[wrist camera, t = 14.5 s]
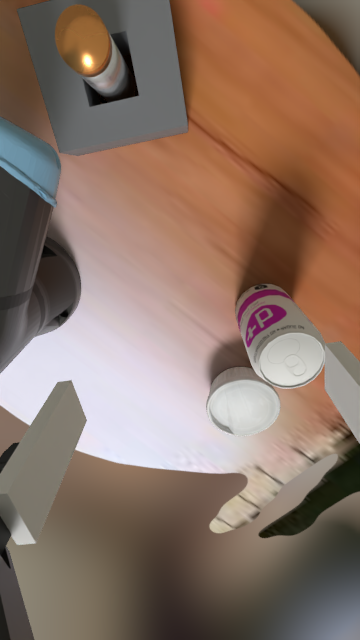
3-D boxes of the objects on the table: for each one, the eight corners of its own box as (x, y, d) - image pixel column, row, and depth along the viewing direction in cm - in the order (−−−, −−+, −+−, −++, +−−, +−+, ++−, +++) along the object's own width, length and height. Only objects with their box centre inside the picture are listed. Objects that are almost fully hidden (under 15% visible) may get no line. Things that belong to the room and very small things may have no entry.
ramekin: (191, 387, 54) (191, 408, 49) (242, 347, 51) (248, 365, 46) (234, 425, 57) (239, 447, 52) (285, 389, 54) (295, 410, 49)
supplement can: (223, 305, 48) (237, 357, 34) (270, 270, 45) (305, 312, 32) (254, 342, 50) (279, 405, 37) (300, 311, 48) (345, 365, 34)
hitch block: (77, 155, 40) (59, 152, 34) (43, 34, 35) (16, 9, 30) (187, 132, 39) (187, 125, 33) (168, 3, 34) (164, -30, 28)
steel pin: (106, 110, 38) (64, 77, 25) (96, 69, 36) (47, 11, 24) (139, 102, 38) (113, 65, 25) (131, 61, 36) (99, -2, 23)
